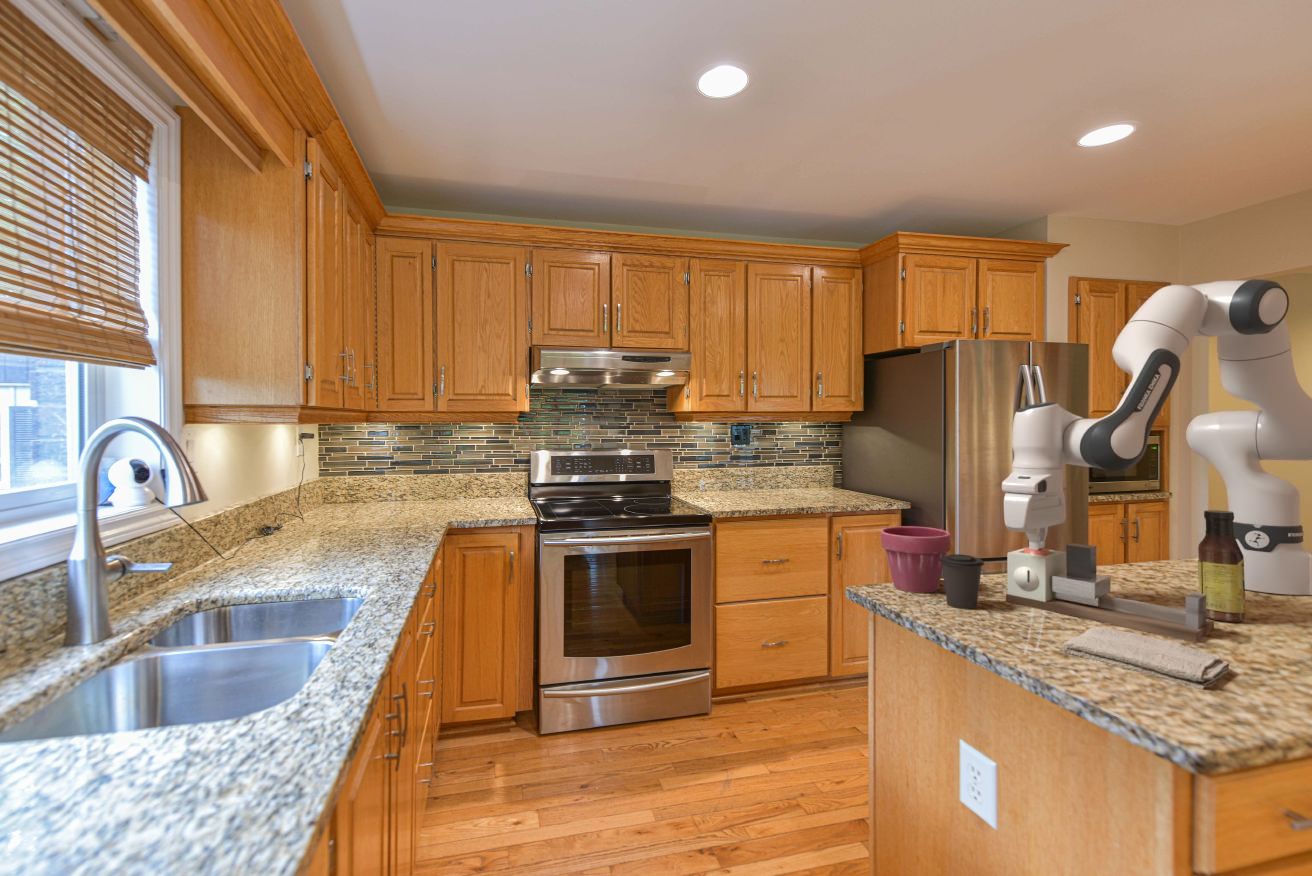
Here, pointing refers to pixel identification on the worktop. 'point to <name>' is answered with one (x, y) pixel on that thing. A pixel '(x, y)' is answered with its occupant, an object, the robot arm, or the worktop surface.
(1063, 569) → the gauge cabinet
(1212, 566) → the sauce bottle
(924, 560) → the plant pot
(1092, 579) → the carriage
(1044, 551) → the plunger
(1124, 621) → the rail board
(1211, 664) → the washcloth
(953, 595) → the coffee cup
